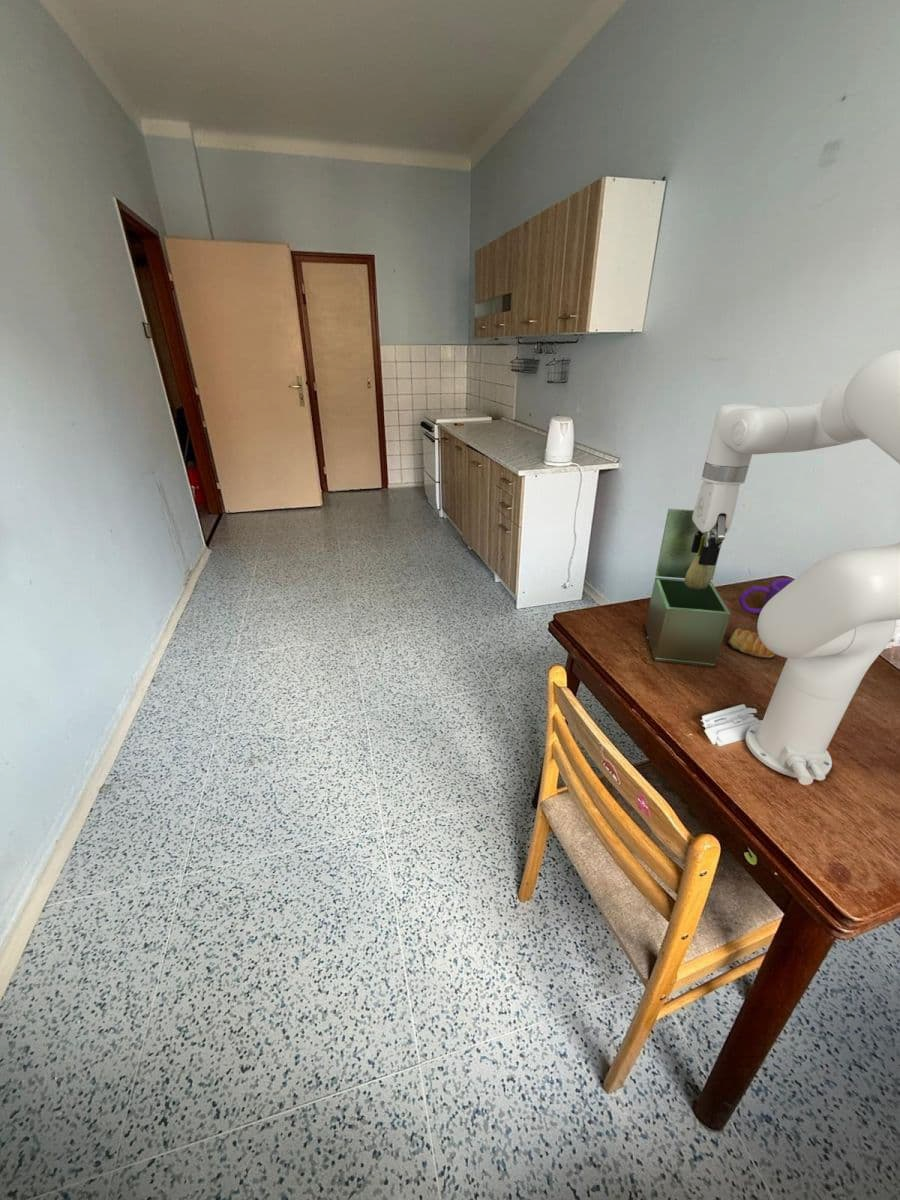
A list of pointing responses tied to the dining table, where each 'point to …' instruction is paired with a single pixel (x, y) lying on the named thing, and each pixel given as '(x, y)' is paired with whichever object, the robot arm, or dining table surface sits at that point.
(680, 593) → the trash bin
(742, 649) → the pastry
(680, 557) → the bin lid
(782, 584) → the mug
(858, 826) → the dining table surface
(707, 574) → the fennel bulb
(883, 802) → the dining table surface
